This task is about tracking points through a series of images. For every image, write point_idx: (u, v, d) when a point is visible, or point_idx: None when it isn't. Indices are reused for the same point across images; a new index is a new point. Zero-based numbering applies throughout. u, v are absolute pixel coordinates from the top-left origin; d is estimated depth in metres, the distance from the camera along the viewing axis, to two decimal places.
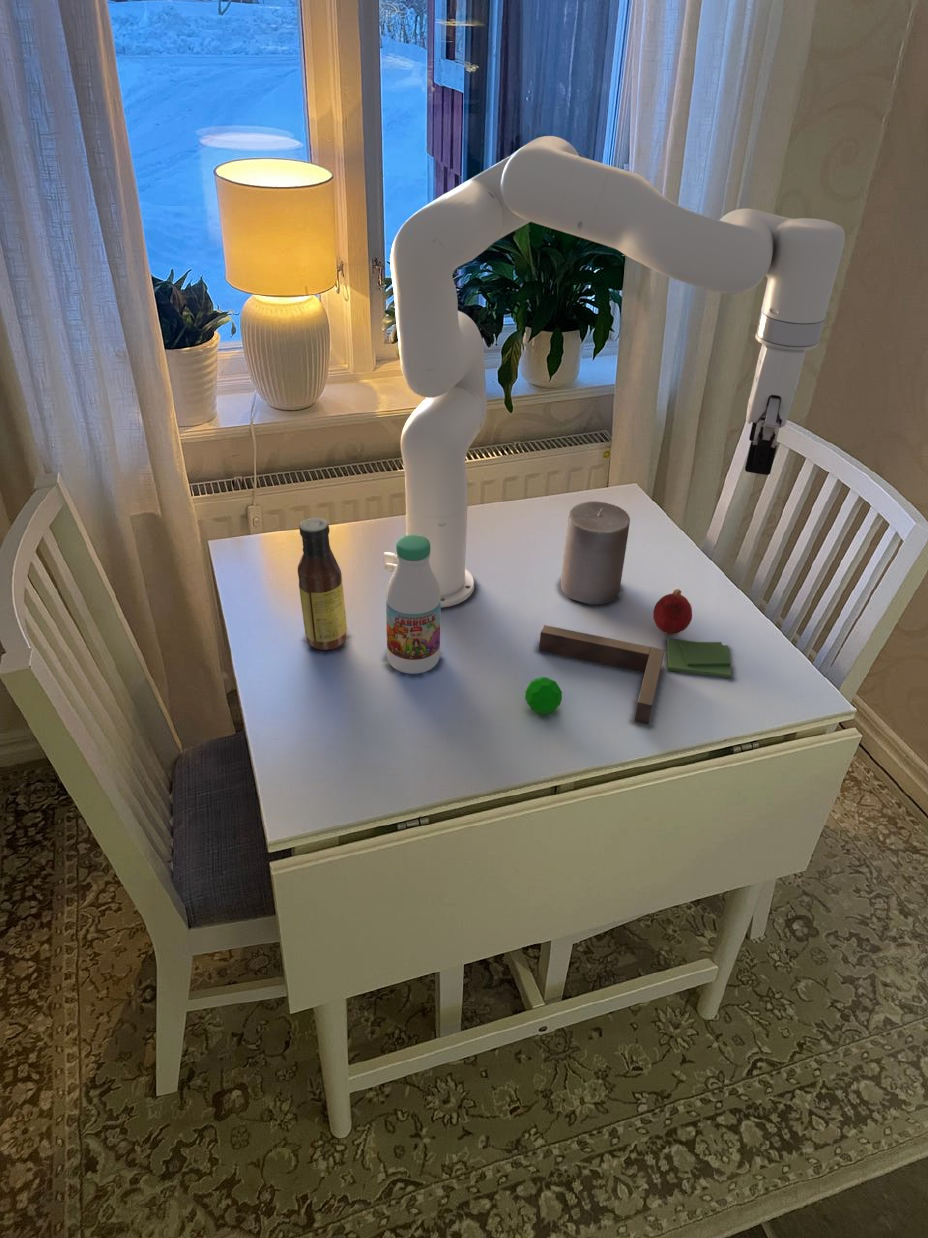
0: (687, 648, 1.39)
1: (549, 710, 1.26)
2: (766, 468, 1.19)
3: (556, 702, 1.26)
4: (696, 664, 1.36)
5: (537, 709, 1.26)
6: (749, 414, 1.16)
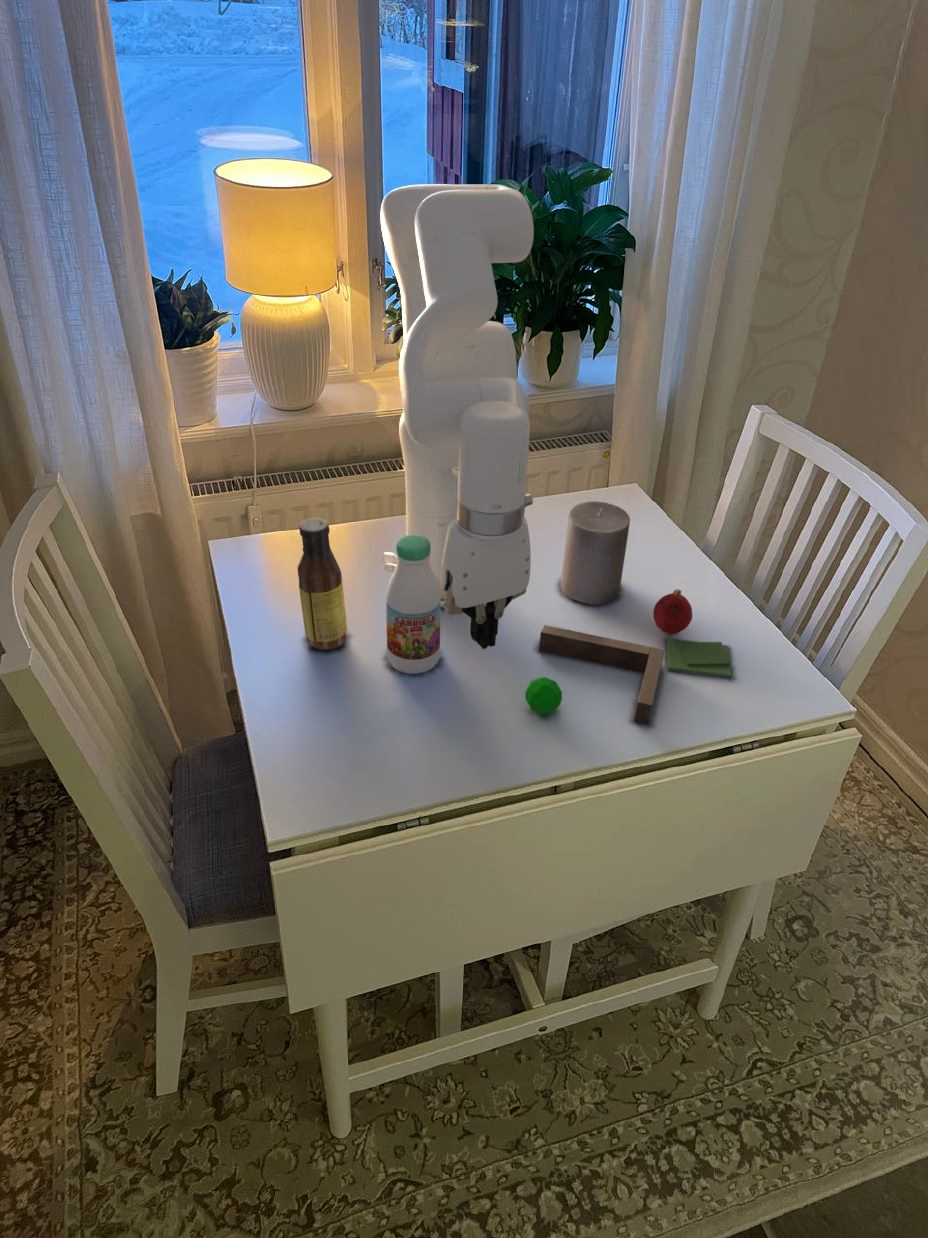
0: (687, 648, 1.39)
1: (549, 710, 1.26)
2: (481, 642, 1.14)
3: (556, 702, 1.26)
4: (696, 664, 1.36)
5: (537, 709, 1.26)
6: None
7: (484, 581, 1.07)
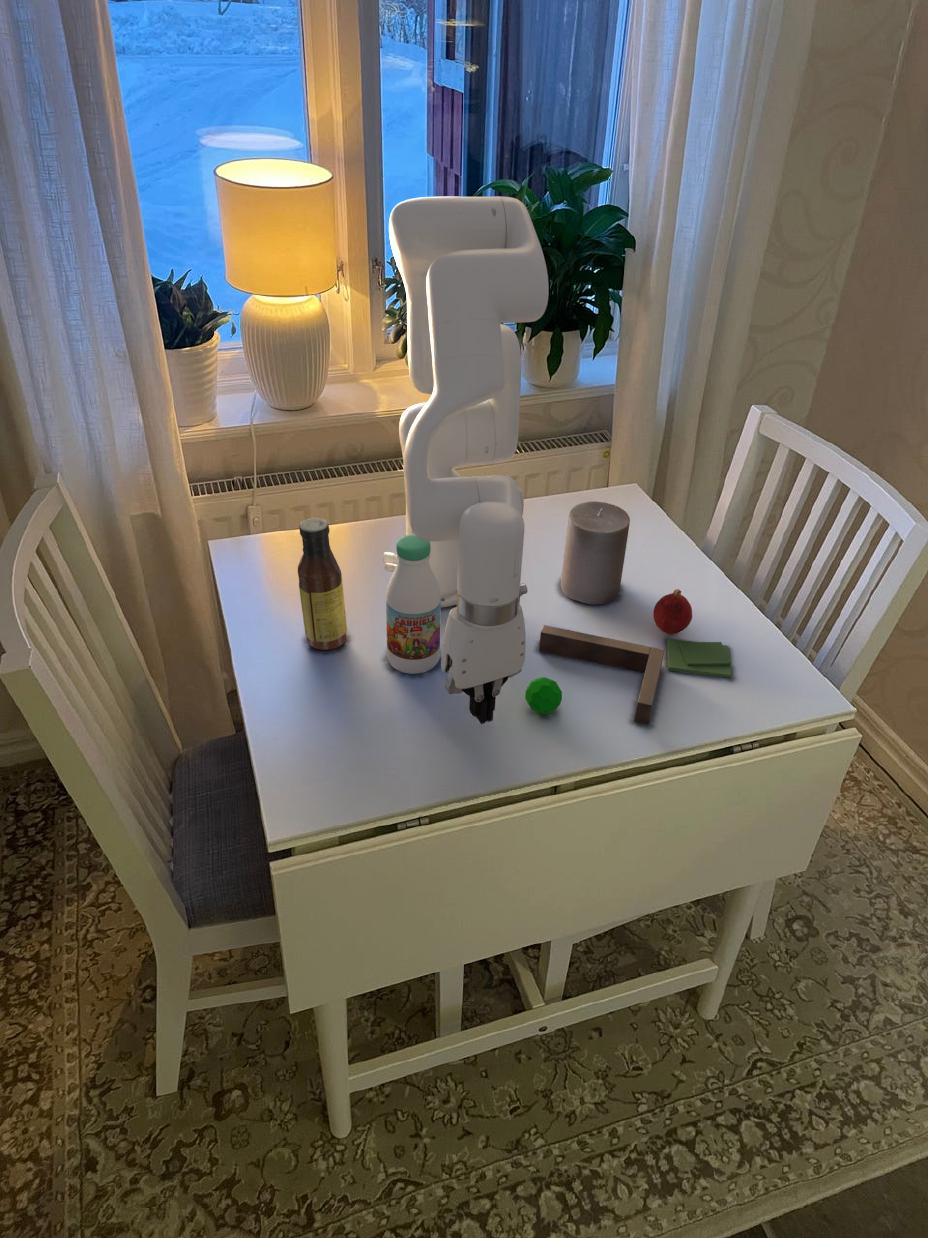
0: (687, 648, 1.39)
1: (549, 710, 1.26)
2: (480, 717, 1.22)
3: (556, 702, 1.26)
4: (696, 664, 1.36)
5: (537, 709, 1.26)
6: None
7: (482, 665, 1.15)
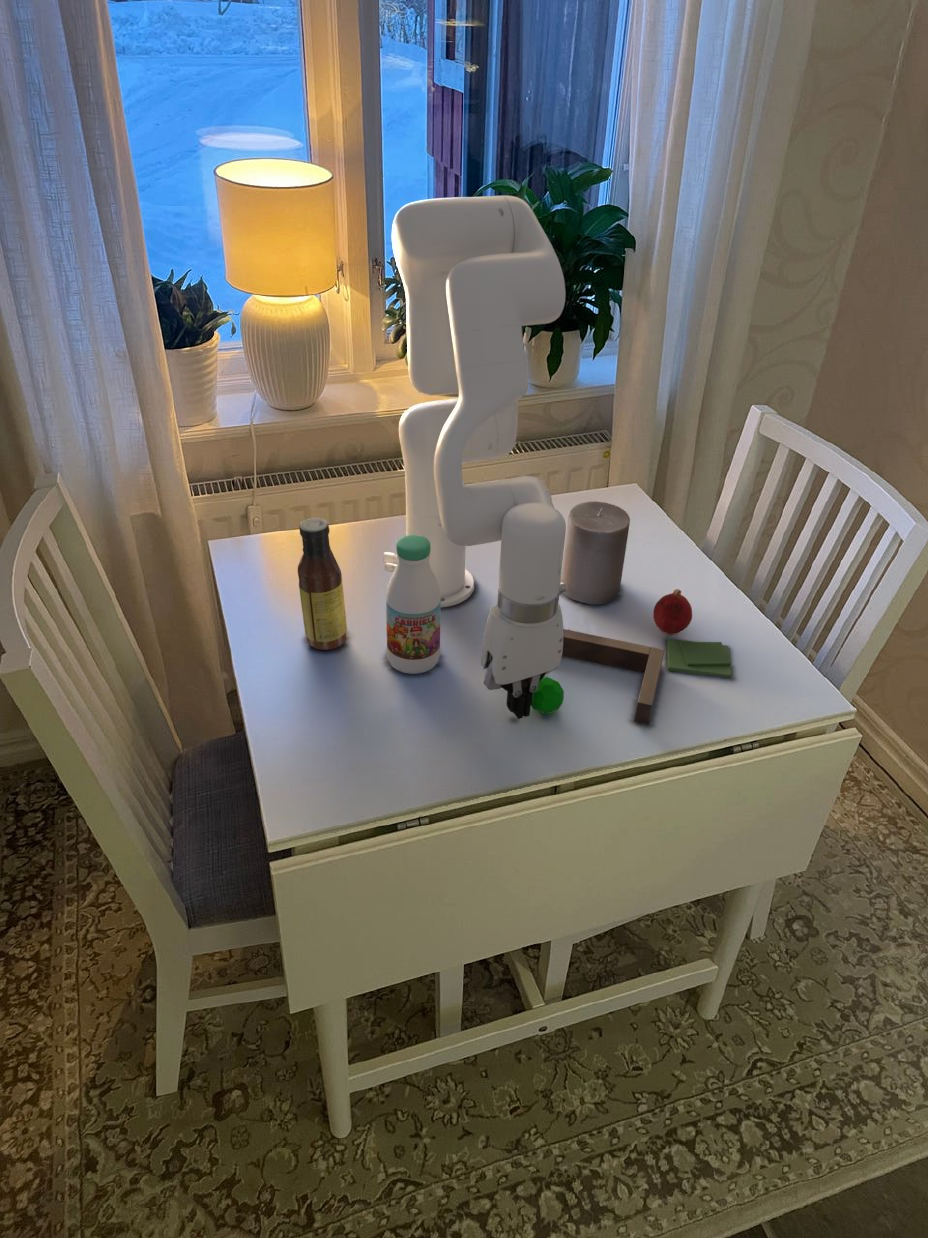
0: (687, 648, 1.39)
1: (552, 710, 1.26)
2: (517, 712, 1.25)
3: (558, 702, 1.26)
4: (696, 664, 1.36)
5: (539, 708, 1.26)
6: None
7: (521, 661, 1.18)
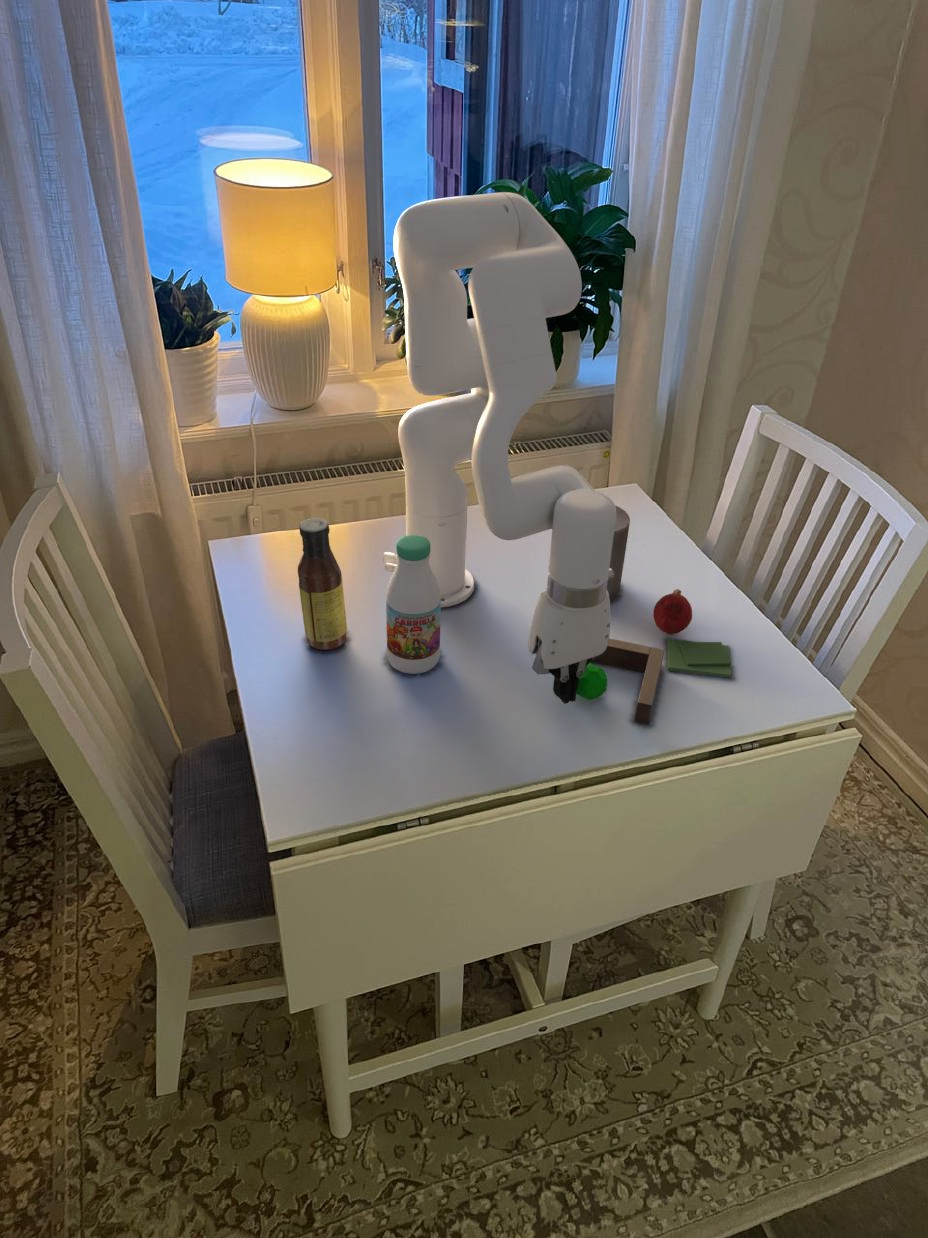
0: (687, 648, 1.39)
1: (596, 696, 1.28)
2: (563, 697, 1.27)
3: (603, 688, 1.28)
4: (696, 664, 1.36)
5: (584, 694, 1.28)
6: None
7: (570, 646, 1.20)
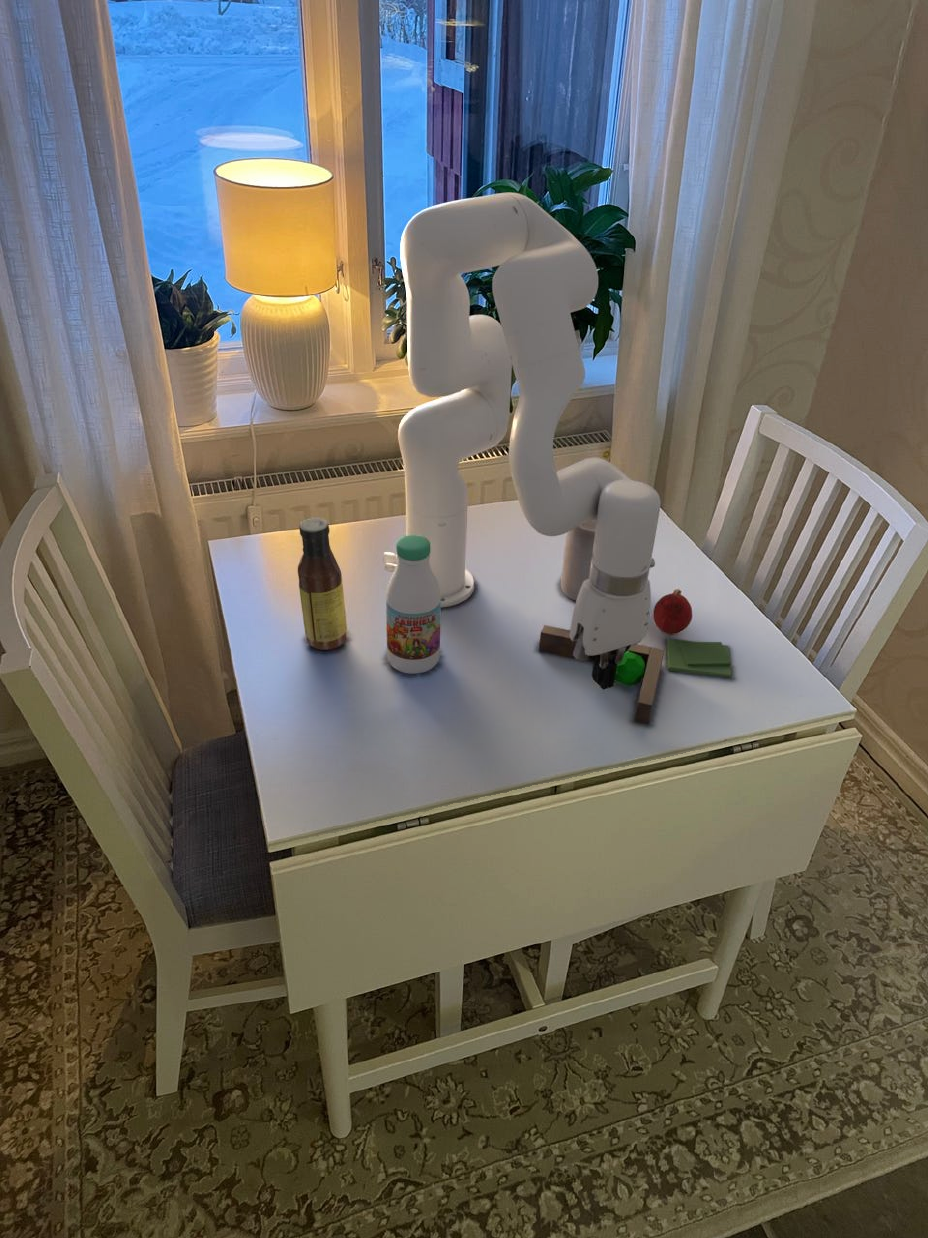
0: (687, 648, 1.39)
1: (634, 682, 1.31)
2: (602, 683, 1.30)
3: (641, 675, 1.31)
4: (696, 664, 1.36)
5: (622, 681, 1.31)
6: (570, 631, 1.27)
7: (611, 633, 1.23)
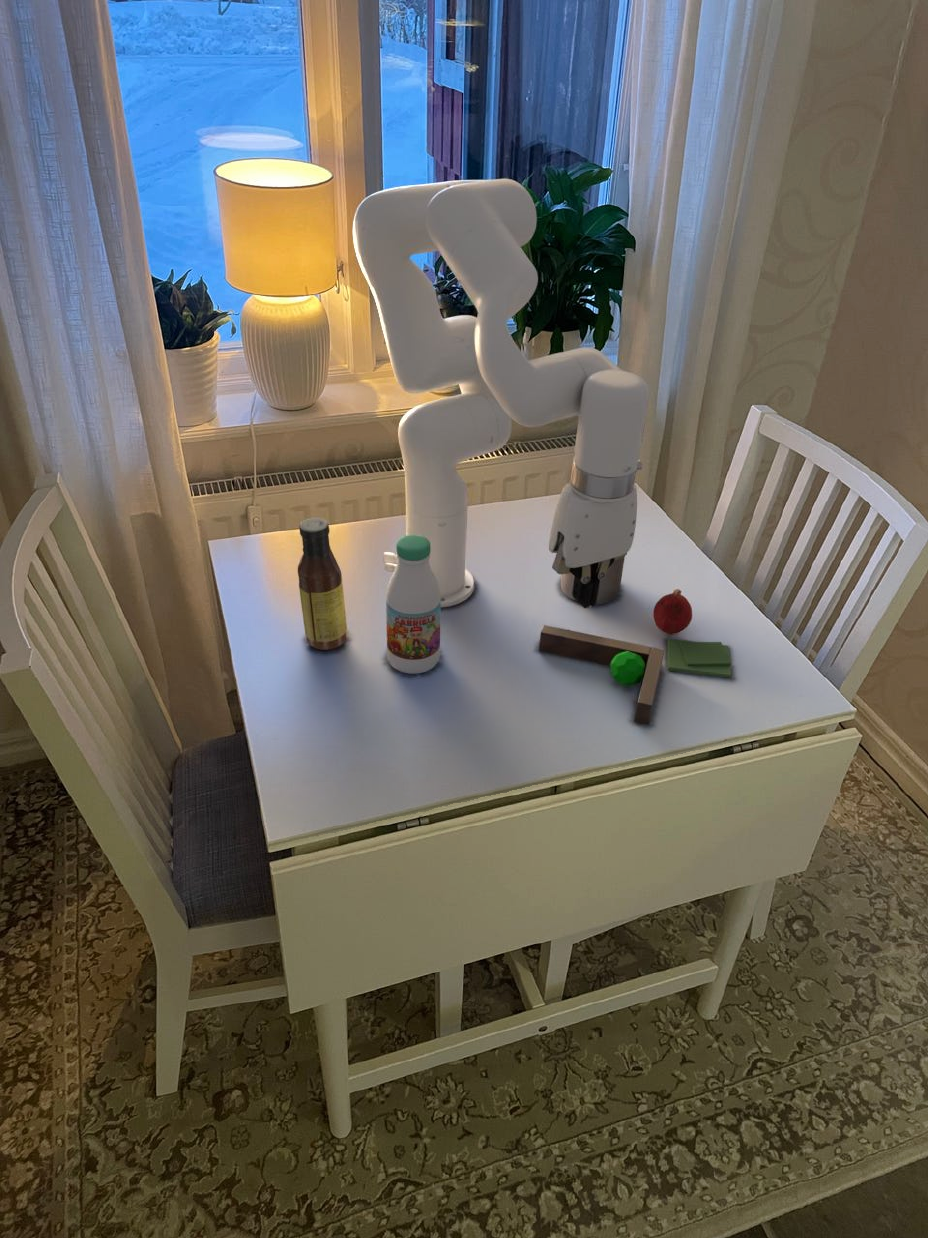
0: (687, 648, 1.39)
1: (634, 682, 1.31)
2: (583, 601, 1.20)
3: (641, 675, 1.31)
4: (696, 664, 1.36)
5: (622, 681, 1.31)
6: None
7: (594, 542, 1.13)
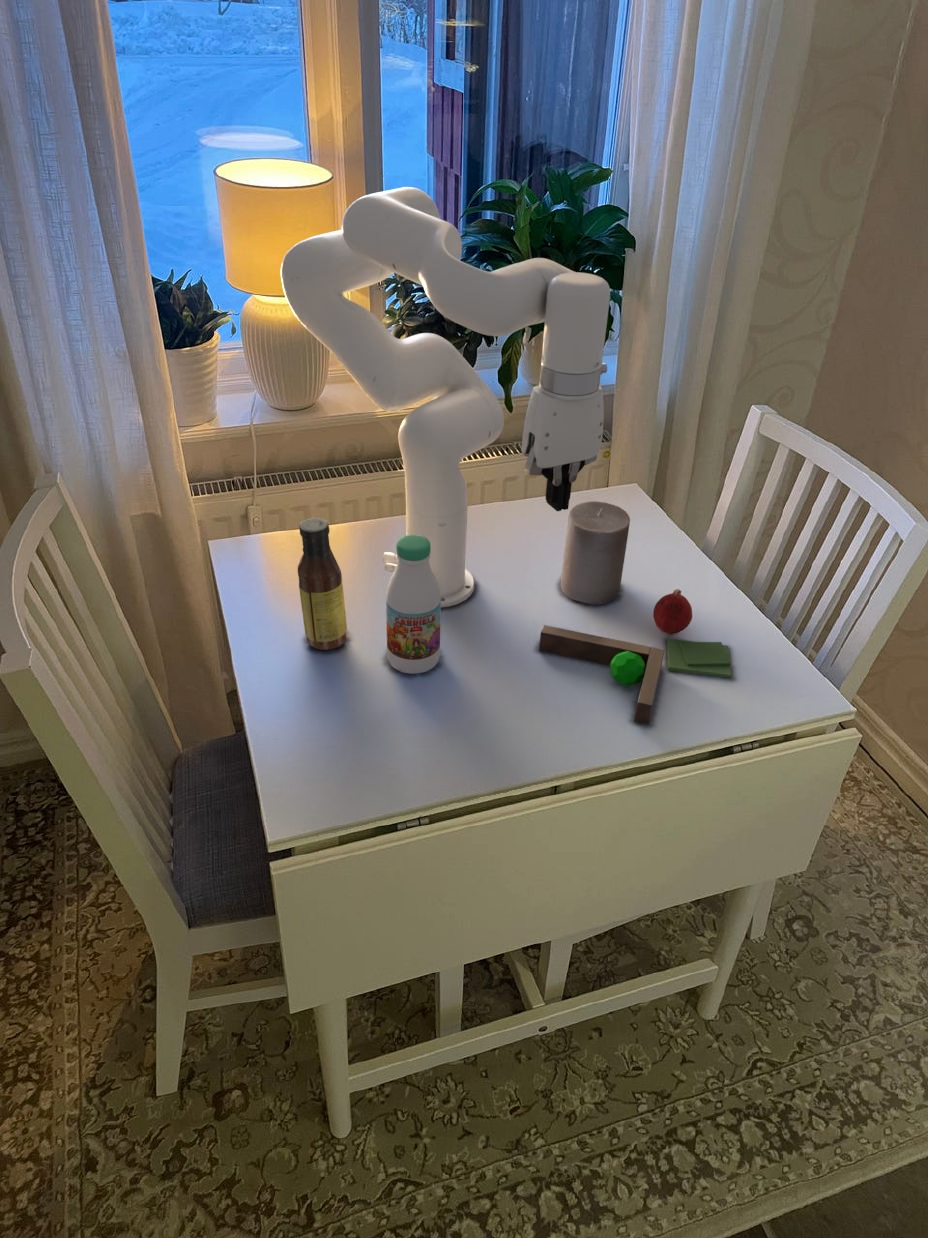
0: (687, 648, 1.39)
1: (634, 682, 1.31)
2: (556, 504, 1.26)
3: (641, 675, 1.31)
4: (696, 664, 1.36)
5: (622, 681, 1.31)
6: (522, 446, 1.23)
7: (563, 442, 1.19)
